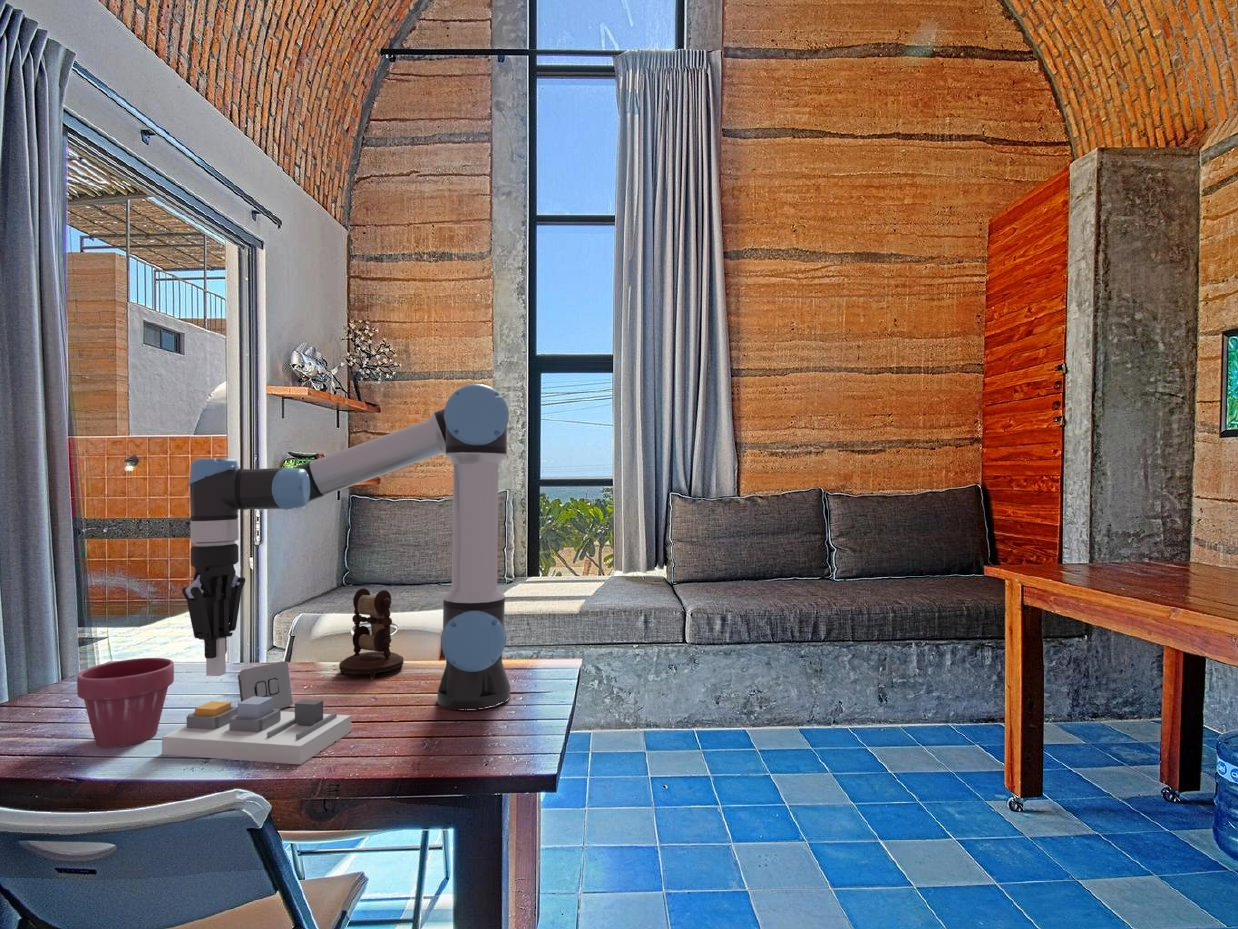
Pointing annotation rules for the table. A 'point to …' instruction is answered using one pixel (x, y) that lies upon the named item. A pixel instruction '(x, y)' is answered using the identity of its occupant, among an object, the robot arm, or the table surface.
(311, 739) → the switch panel
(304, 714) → the slide switch
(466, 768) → the table surface
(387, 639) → the brown spool stand
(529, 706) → the table surface
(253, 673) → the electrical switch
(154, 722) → the plant pot
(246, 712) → the grey button
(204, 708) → the orange button
